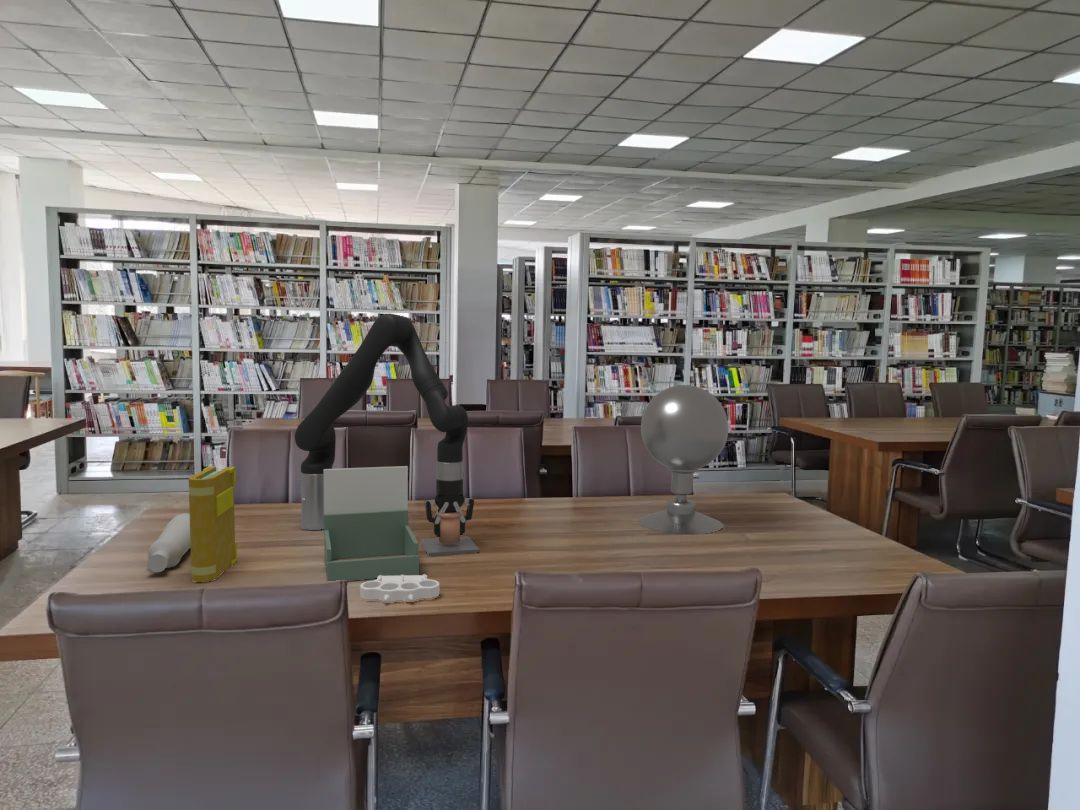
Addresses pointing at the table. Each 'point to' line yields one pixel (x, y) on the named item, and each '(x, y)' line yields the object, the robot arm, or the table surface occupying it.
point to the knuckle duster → (400, 588)
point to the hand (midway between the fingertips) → (449, 535)
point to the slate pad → (449, 546)
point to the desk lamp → (683, 452)
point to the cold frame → (368, 523)
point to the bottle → (170, 544)
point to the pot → (450, 527)
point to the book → (212, 523)
